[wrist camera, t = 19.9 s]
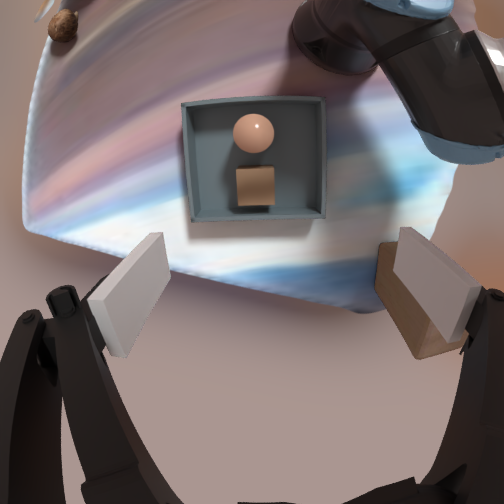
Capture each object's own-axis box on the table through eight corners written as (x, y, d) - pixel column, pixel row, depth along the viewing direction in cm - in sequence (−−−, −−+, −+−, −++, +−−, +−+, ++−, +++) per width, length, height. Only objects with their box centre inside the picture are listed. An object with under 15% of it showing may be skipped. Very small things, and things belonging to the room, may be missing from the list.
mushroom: (77, -4, 22) (52, 6, 19) (95, 18, 28) (70, 29, 24) (61, 20, 27) (38, 32, 24) (77, 41, 32) (55, 54, 29)
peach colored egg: (237, 118, 36) (232, 114, 30) (271, 117, 36) (273, 113, 30) (238, 150, 38) (233, 153, 32) (272, 150, 38) (274, 152, 32)
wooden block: (414, 284, 47) (464, 348, 29) (372, 289, 48) (414, 363, 30) (422, 237, 43) (487, 293, 25) (377, 240, 44) (434, 305, 26)
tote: (190, 106, 36) (181, 103, 32) (317, 101, 35) (325, 97, 31) (198, 212, 43) (191, 222, 39) (318, 209, 42) (325, 218, 38)
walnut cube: (239, 165, 39) (236, 169, 35) (272, 164, 39) (274, 168, 35) (240, 197, 41) (238, 205, 37) (273, 196, 41) (274, 204, 37)
